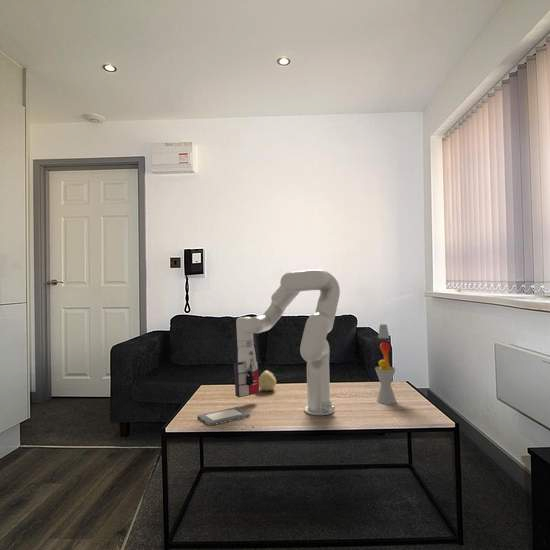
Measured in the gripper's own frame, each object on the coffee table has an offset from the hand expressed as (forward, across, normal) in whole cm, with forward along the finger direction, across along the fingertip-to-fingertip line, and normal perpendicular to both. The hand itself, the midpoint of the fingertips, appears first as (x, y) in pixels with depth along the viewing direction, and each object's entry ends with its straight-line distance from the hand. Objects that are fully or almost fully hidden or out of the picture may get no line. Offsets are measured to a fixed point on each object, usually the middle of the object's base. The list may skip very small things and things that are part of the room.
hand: (247, 383), depth 170 cm
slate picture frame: (+9, -9, +17) cm, 21 cm away
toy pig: (+10, +15, -19) cm, 26 cm away
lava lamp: (+12, -35, -52) cm, 64 cm away
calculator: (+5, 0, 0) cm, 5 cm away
